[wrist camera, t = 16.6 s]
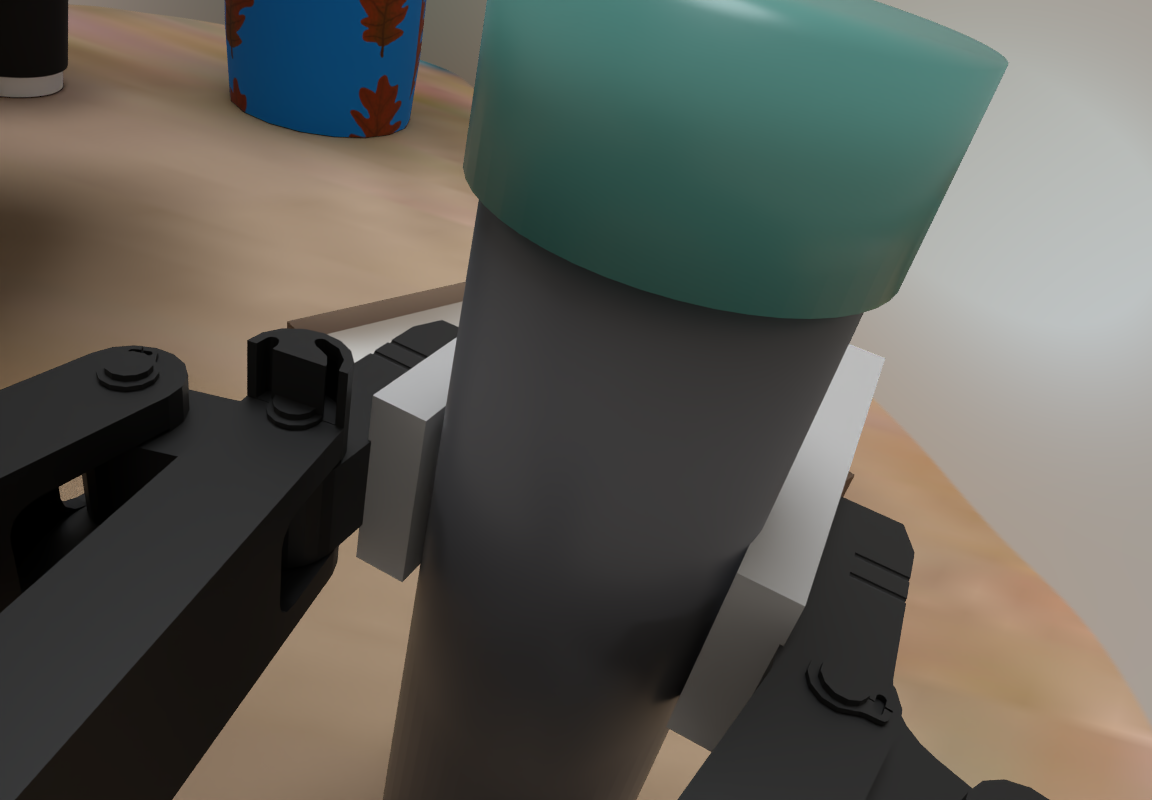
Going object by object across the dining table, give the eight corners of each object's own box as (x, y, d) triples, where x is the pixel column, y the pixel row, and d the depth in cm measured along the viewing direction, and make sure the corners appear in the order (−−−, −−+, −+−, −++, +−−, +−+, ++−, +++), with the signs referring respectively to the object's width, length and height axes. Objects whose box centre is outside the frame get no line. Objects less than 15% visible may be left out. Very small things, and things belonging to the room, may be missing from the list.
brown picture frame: (286, 350, 29) (288, 295, 28) (536, 289, 37) (546, 243, 36) (609, 667, 21) (631, 608, 20) (840, 501, 29) (866, 452, 28)
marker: (312, 842, 15) (389, -104, 7) (497, 715, 18) (707, -55, 10) (463, 1068, 13) (840, 73, 5) (646, 882, 16) (1079, 68, 8)
